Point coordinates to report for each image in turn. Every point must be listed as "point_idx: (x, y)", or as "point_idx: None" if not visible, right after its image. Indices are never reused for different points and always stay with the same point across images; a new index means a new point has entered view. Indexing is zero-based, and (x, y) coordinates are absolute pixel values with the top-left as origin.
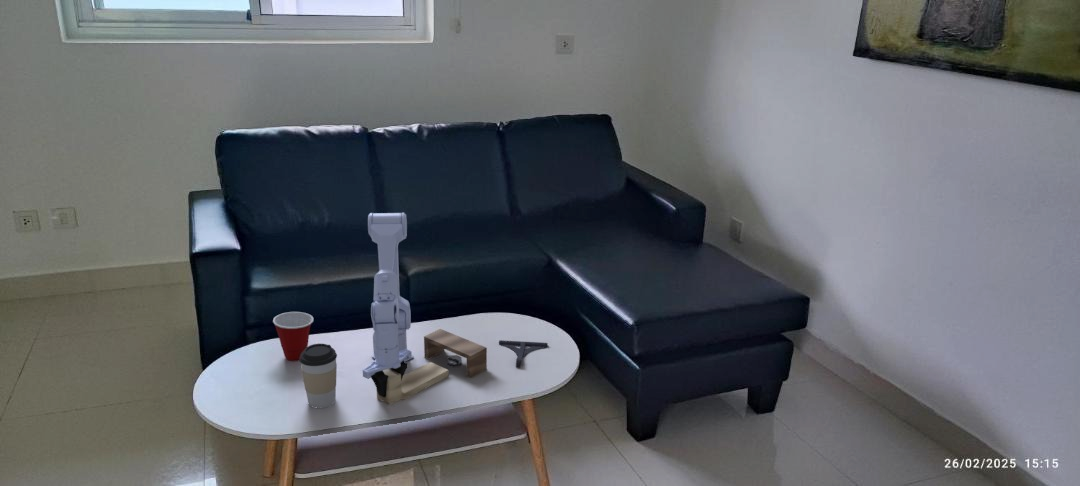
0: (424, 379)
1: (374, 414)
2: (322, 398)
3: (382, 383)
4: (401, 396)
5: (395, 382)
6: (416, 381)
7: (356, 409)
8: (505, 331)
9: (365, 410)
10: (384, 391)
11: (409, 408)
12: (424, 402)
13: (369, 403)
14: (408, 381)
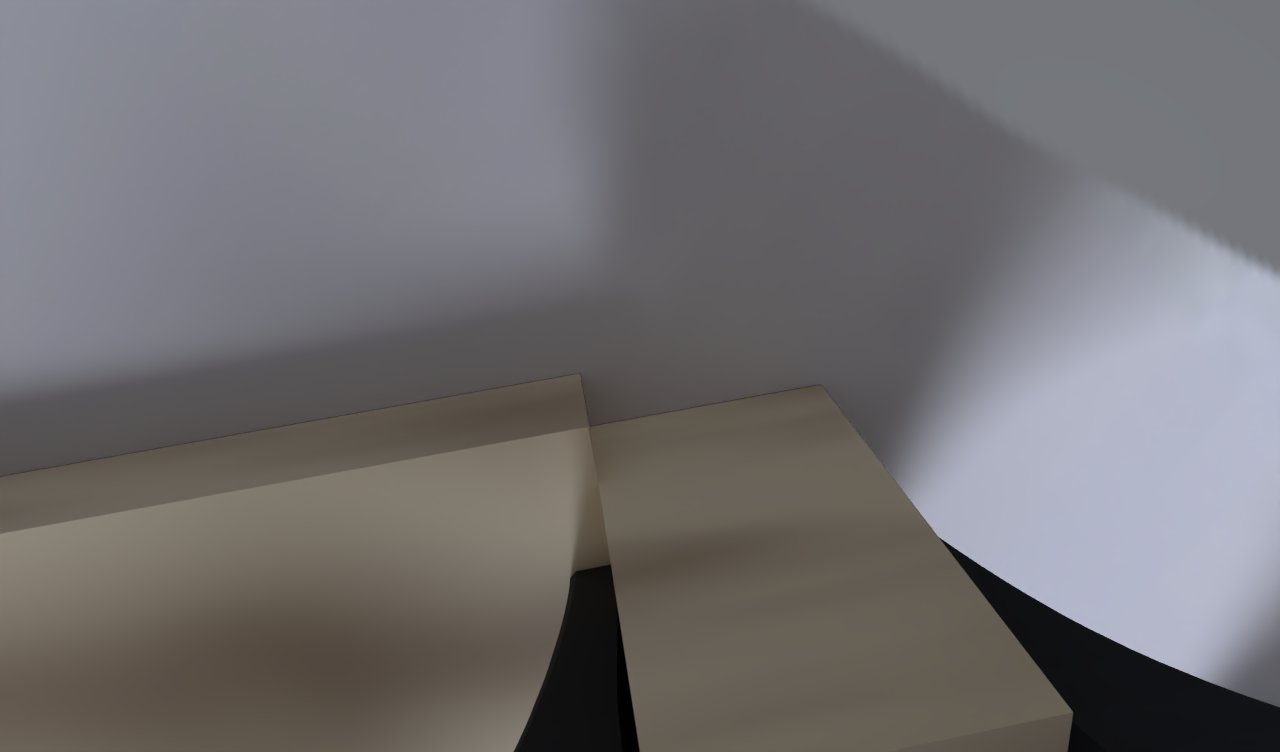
0: (29, 604)
1: (1130, 299)
2: None
3: (1204, 683)
4: (599, 441)
5: (796, 637)
6: (200, 619)
7: (1161, 527)
8: None
9: (1120, 450)
10: (966, 561)
11: (676, 88)
12: (346, 75)
13: (976, 553)
14: (325, 679)
